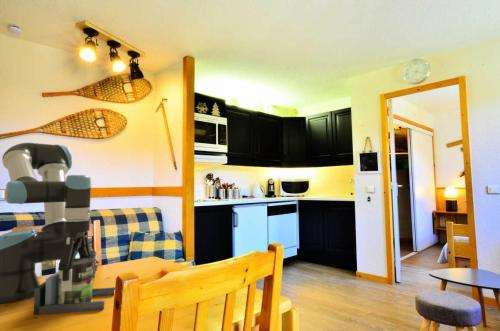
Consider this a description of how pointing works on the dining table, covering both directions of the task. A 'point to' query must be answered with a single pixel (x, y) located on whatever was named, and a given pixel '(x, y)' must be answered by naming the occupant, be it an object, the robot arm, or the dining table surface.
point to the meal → (93, 256)
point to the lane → (68, 307)
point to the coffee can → (78, 282)
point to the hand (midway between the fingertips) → (75, 283)
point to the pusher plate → (52, 289)
